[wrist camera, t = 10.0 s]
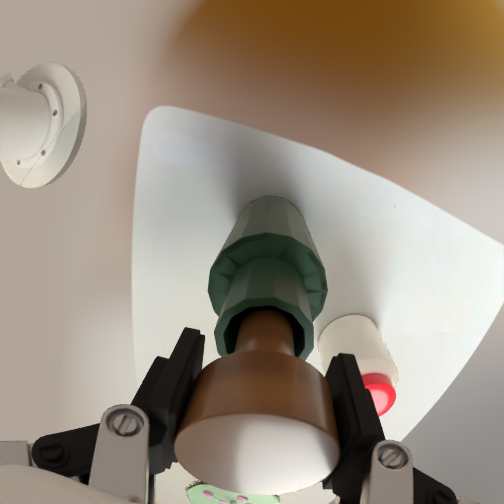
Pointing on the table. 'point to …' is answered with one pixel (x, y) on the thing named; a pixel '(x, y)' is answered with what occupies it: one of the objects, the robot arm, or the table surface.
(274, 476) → the stopper
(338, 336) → the pill bottle
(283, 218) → the bottle
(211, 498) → the plant
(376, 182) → the table surface
